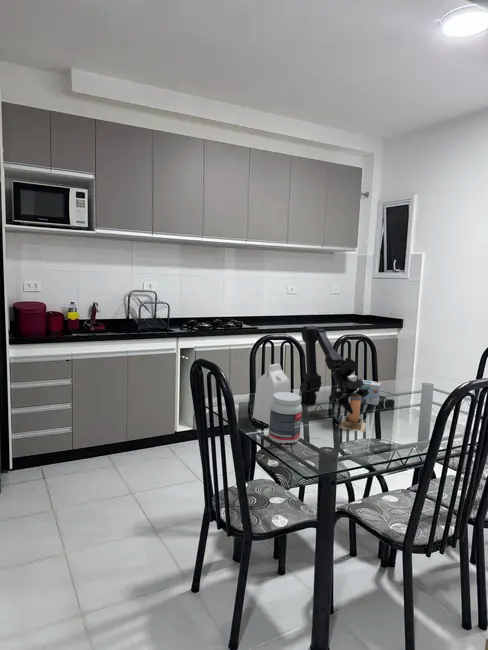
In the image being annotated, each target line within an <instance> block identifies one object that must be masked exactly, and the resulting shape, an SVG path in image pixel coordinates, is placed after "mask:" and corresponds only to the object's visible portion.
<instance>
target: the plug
mask: <svg viewBox="0 0 488 650" xmlns="http://www.w3.org/2000/svg"><path fill="white" fill-rule="evenodd" d="M361 400H362V396H360V395H354V394H353V395H350V406H351V408H352V411H353V413H352V414H351V413H349V412H348V417H349V418H348V422H354V423H359V418H360V414H361V413H360V404H361V405H362V403H361Z"/></svg>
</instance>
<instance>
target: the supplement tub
mask: <svg viewBox="0 0 488 650" xmlns="http://www.w3.org/2000/svg"><path fill="white" fill-rule="evenodd" d="M273 400H274V401H273V402H272V403H271V406H270V421H269V426H268V437H269V439H270V440H271V441H272V442H275V443H277V444H281V443H282V445H286V444H285V443H292V444H294V443H293V442H295V443H297V442H299V441H300V438H301V428H302V427H301V425H302V414H303V412H302V411H303V406H302V403H301V402H302V396H301V395H299V394H297V393H293V392H291V391H290V392H278V393H275V394H274V395H273Z"/></svg>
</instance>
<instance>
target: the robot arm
mask: <svg viewBox="0 0 488 650" xmlns="http://www.w3.org/2000/svg"><path fill="white" fill-rule="evenodd" d="M300 334H301V339H302V341H303V343H304V344H305V362H306V374H305V375H304V377H303V382H302V383H301V384H300V385H299V391H300V392H302V396H301V402H300V404H301V405H302V404H303V405H309V406H315V404H316V403H317V397H318V395H317V392H320V389H321V387H322V376H321V375H319V373H318V371H317V370H318V369H317V349H316V348H317V347H316V343H317V342H318V344H319V346H320V348H321V350H322V351H323V353H324V356H325V359H324V361H325V364H326V367H327V368H328V370H330V371H331V370H335V371H332V372H331V375H330V377H331V378H334V380H335V383H336V389H337V391H334V392H332V393H331V394H330V395H329V396H328V400H329V403H333V404H334V403H337V404H338V405H340V406H341V407H342V408H344V409H345V410H346V411H347V412H348V414H349V413H351V414H352V413H353V411H352V408H351V406H350V403H349V397H350V395H353V394H354V395H360V396H362V399H363V398H364V397H366V396H367V395H368V394H369V391H368V389H366V388H365V389H359V388H361V386H363V385H364V384H363V381H362V380H363V379H362V378H357V380H356V381H353V382H352V380H349V378H348V376H350V375H351V374H352V375H353V374H354V373H355V372H356V371H357V370H358V369H359V367H358V362H356V361H355V360H353V359H351V357H346V358H345V359H344V358H343V357H342V356H341V354H340V353H338V352H337V351H336V350H335V348H334V346H333V345H332V343H331V341H330V339H329V337H328V336H327V332H326V330H325V329H323V328H320V327H319V328H318V327H317V326H315V325H311V326H310V325H309V326H306V325H305V326H303V327H302V329H301V330H300ZM356 388H357V389H356ZM338 389H340V391H338ZM358 389H359V390H358ZM354 391H356V392H354ZM337 399H338V401H337ZM361 413H362V403H361V404H360V414H361Z"/></svg>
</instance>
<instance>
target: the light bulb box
mask: <svg viewBox="0 0 488 650" xmlns="http://www.w3.org/2000/svg"><path fill="white" fill-rule="evenodd" d="M362 381H363V384H364V385H363V386H361V388H357V391H358V390H359V389H365V388H366V389H368V391H369V394H368V395H367V396H366V397H364V398H363V399H362V400H361V404H367V405H373V406H378V405H379V402H380V394H381V387H382V386H381V385H382V383H381V382H379V381H378V382H377V381H373V380H365V379H362Z"/></svg>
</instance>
